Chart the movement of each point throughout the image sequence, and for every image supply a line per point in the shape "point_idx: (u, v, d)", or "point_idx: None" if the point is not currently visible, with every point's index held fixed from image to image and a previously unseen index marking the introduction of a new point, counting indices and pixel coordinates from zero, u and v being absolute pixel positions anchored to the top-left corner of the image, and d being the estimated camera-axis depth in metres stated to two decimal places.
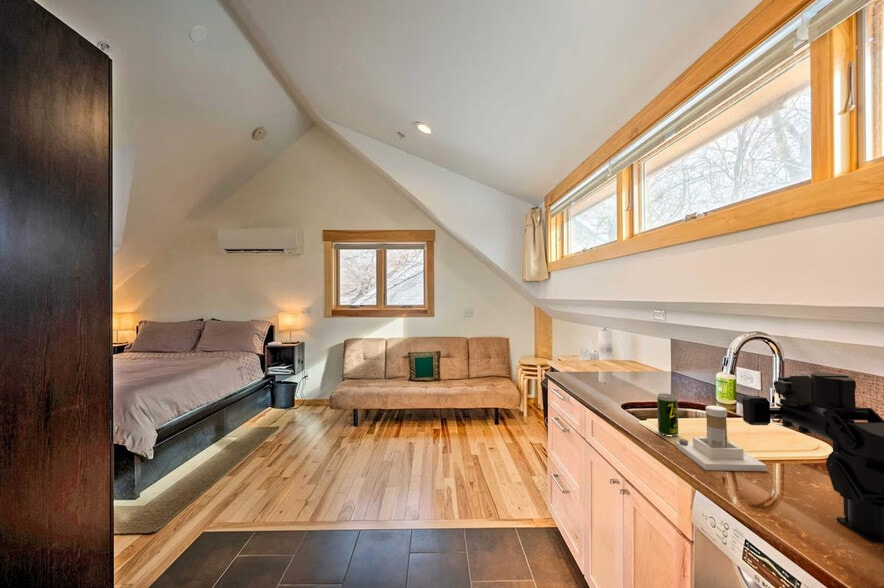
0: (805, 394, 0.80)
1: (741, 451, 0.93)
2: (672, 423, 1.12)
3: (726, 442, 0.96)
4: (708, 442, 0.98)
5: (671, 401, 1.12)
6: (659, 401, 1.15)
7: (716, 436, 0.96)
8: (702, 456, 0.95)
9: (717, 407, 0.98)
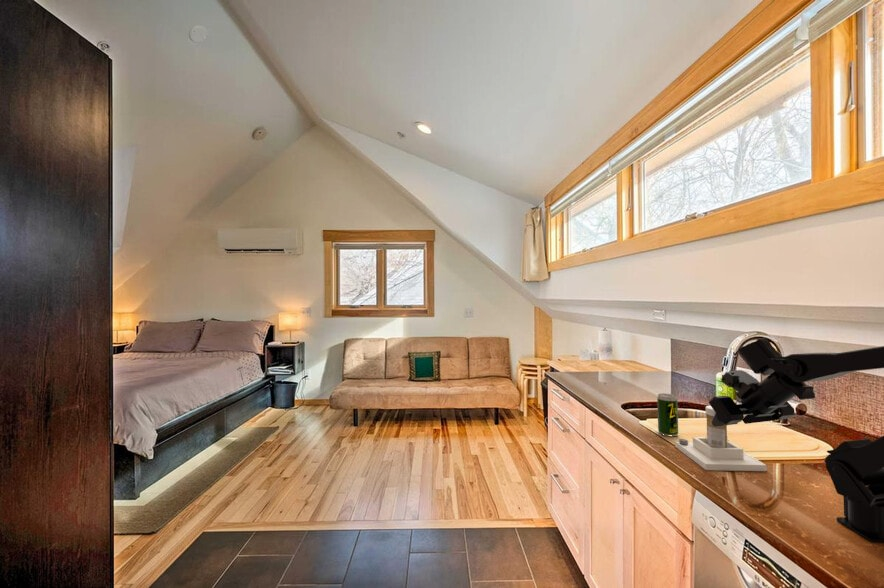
0: (749, 380, 0.89)
1: (741, 451, 0.93)
2: (672, 423, 1.12)
3: (726, 442, 0.96)
4: (708, 442, 0.98)
5: (671, 401, 1.12)
6: (659, 401, 1.15)
7: (716, 436, 0.96)
8: (702, 456, 0.95)
9: None
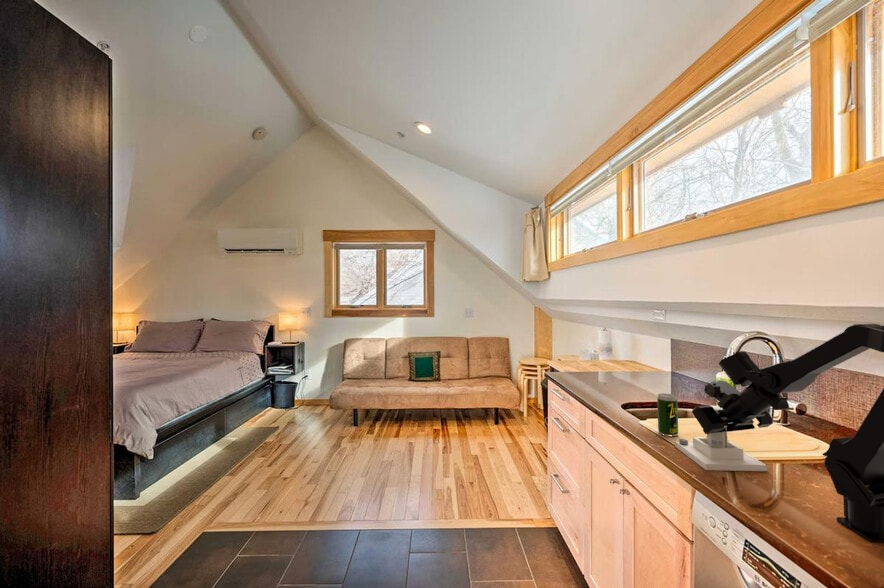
0: (730, 390, 0.94)
1: (741, 451, 0.93)
2: (672, 423, 1.12)
3: (726, 442, 0.96)
4: (708, 442, 0.98)
5: (671, 401, 1.12)
6: (659, 401, 1.15)
7: (716, 436, 0.96)
8: (702, 456, 0.95)
9: (717, 407, 0.98)
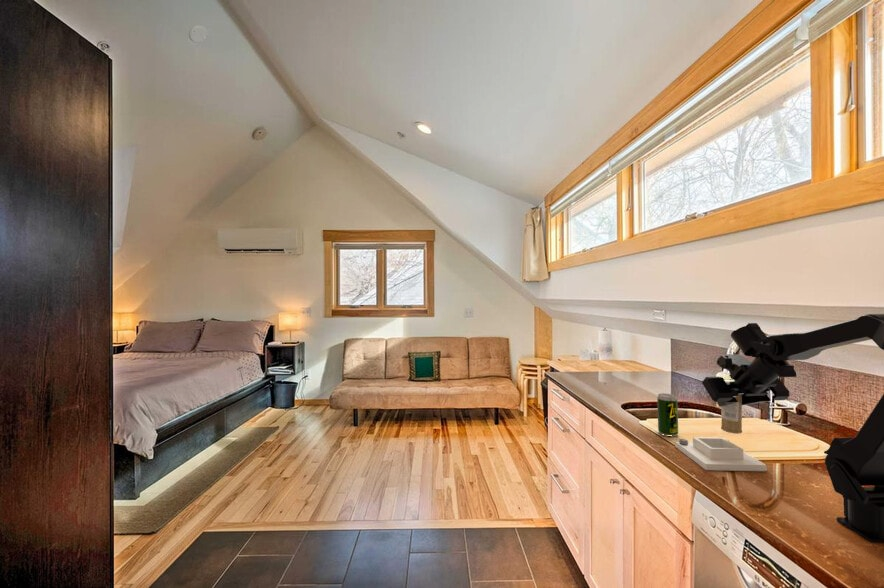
0: (743, 363, 0.95)
1: (741, 451, 0.93)
2: (672, 423, 1.12)
3: (740, 415, 0.97)
4: (722, 414, 0.99)
5: (671, 401, 1.12)
6: (659, 401, 1.15)
7: (729, 408, 0.97)
8: (702, 456, 0.95)
9: None
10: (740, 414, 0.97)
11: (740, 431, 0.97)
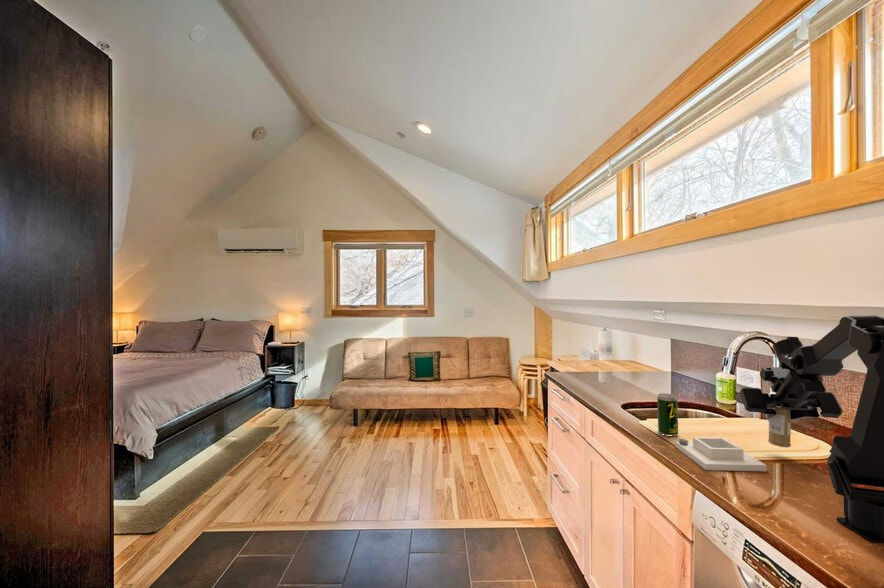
0: (786, 376, 0.94)
1: (741, 451, 0.93)
2: (672, 423, 1.12)
3: (787, 429, 0.96)
4: None
5: (671, 401, 1.12)
6: (659, 401, 1.15)
7: (774, 420, 0.97)
8: (702, 456, 0.95)
9: None
10: (787, 428, 0.96)
11: (787, 445, 0.96)
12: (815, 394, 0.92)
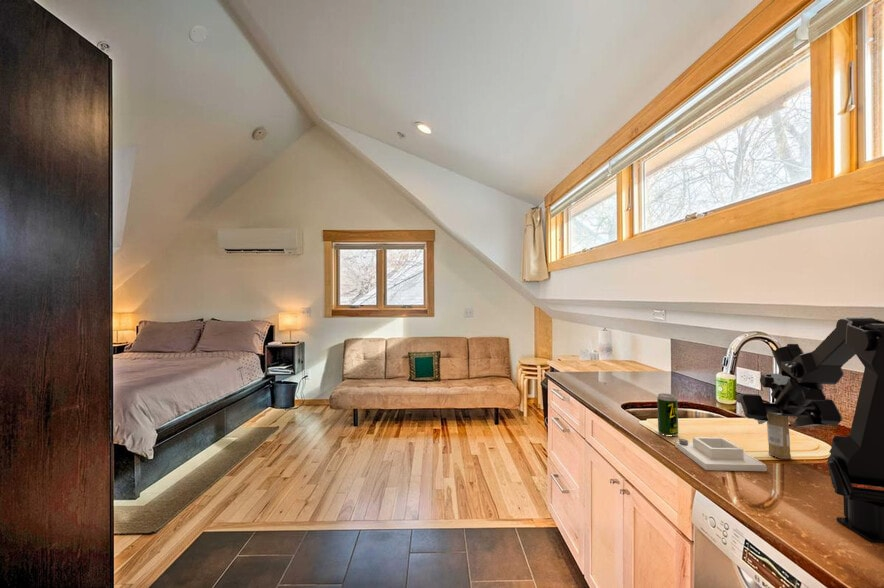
0: (786, 383, 0.94)
1: (741, 451, 0.93)
2: (672, 423, 1.12)
3: (786, 440, 0.96)
4: (768, 438, 0.99)
5: (671, 401, 1.12)
6: (659, 401, 1.15)
7: (772, 432, 0.97)
8: (702, 456, 0.95)
9: None
10: (786, 439, 0.96)
11: (787, 456, 0.96)
12: (815, 401, 0.92)
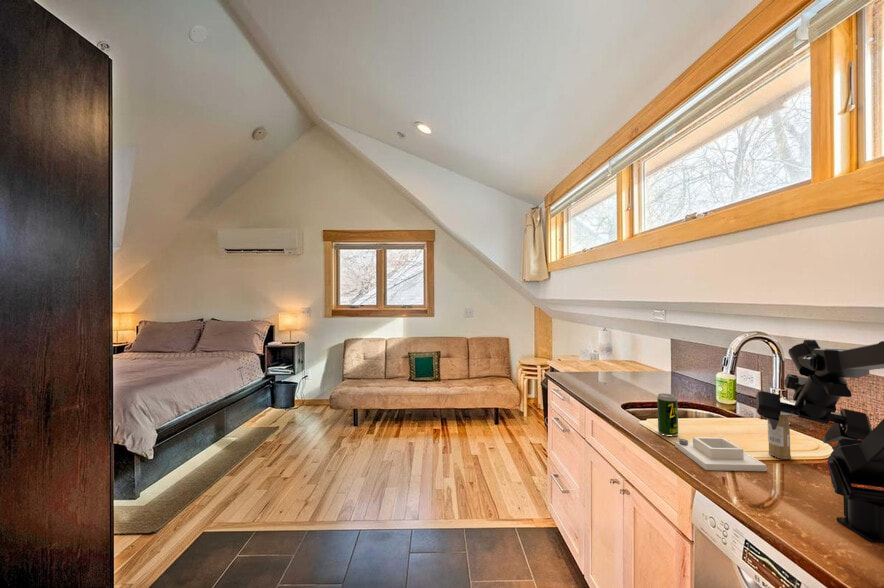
0: None
1: (741, 451, 0.93)
2: (672, 423, 1.12)
3: (786, 440, 0.96)
4: (768, 438, 0.99)
5: (671, 401, 1.12)
6: (659, 401, 1.15)
7: (773, 432, 0.97)
8: (702, 456, 0.95)
9: None
10: (786, 439, 0.96)
11: (787, 457, 0.96)
12: (844, 411, 0.82)
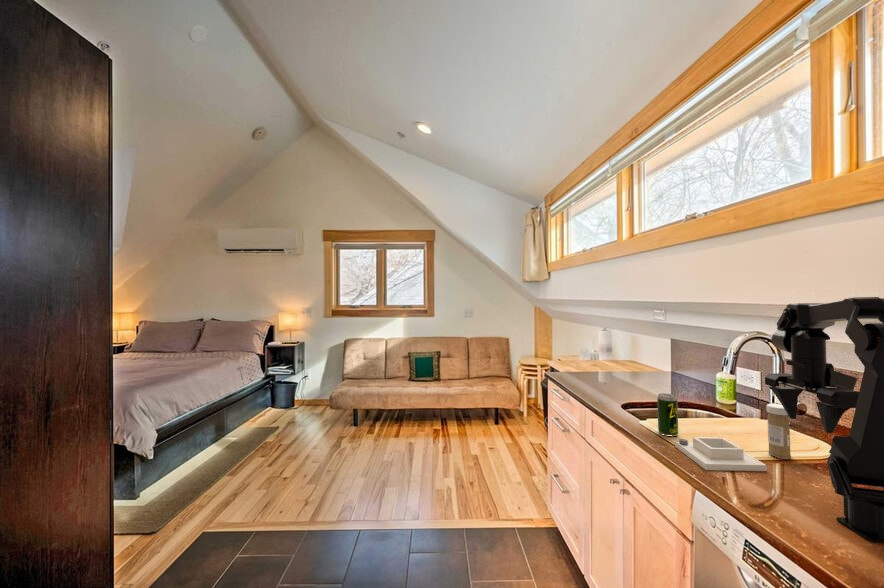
0: None
1: (741, 451, 0.93)
2: (672, 423, 1.12)
3: (786, 441, 0.96)
4: (768, 438, 0.99)
5: (671, 401, 1.12)
6: (659, 401, 1.15)
7: (773, 432, 0.97)
8: (702, 456, 0.95)
9: (780, 405, 0.98)
10: (786, 440, 0.96)
11: (787, 457, 0.96)
12: None
